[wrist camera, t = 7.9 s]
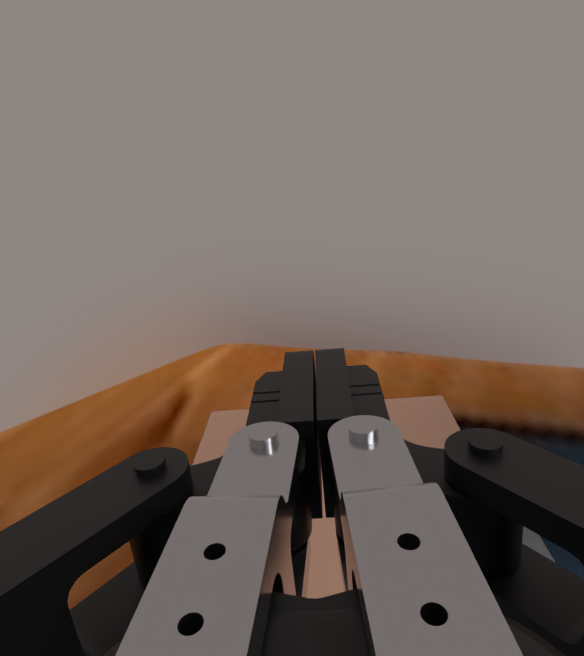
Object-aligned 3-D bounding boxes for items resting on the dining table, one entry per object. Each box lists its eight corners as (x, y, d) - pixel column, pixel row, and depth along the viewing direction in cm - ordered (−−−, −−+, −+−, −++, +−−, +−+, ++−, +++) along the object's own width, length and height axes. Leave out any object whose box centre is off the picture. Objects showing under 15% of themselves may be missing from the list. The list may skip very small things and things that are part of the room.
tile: (124, 775, 14) (218, 451, 28) (587, 763, 13) (442, 437, 27) (102, 712, 13) (211, 411, 27) (598, 695, 12) (442, 395, 26)
